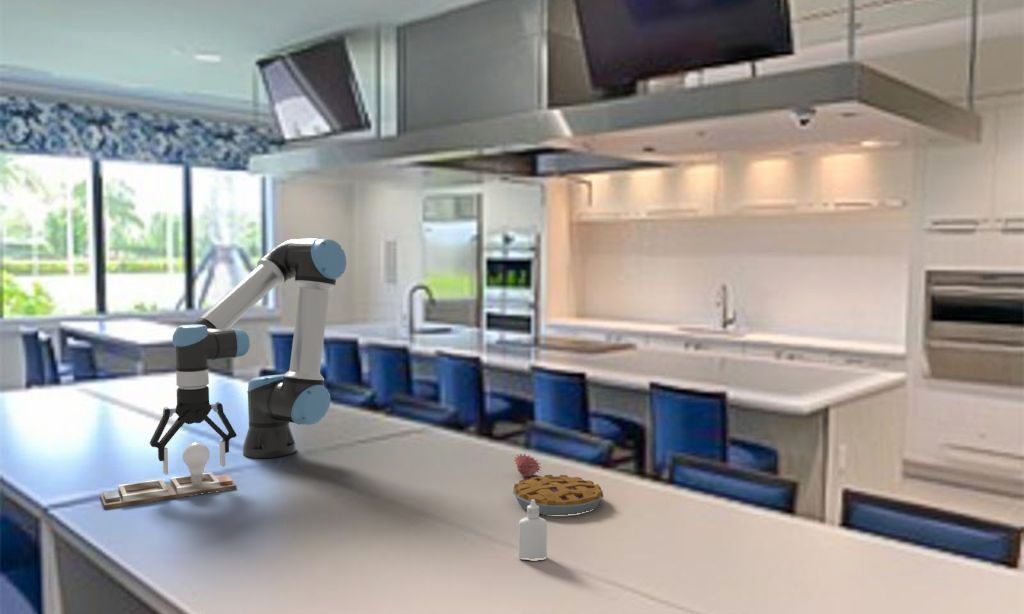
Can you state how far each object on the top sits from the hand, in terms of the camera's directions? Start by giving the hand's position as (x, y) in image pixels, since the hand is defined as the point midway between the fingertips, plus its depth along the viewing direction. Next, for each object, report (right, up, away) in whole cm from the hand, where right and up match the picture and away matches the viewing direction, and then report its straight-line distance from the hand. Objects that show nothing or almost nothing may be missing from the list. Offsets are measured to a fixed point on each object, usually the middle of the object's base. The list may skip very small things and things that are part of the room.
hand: (194, 469), depth 200 cm
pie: (+92, -7, -8) cm, 92 cm away
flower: (+84, -5, +15) cm, 86 cm away
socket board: (-5, -5, -3) cm, 8 cm away
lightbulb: (0, -4, +1) cm, 4 cm away
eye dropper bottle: (+85, -9, -42) cm, 95 cm away
